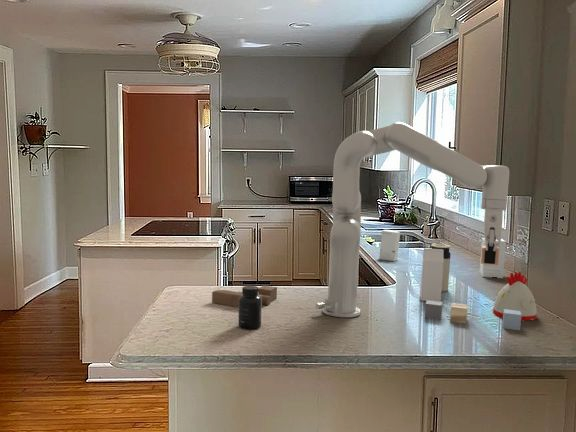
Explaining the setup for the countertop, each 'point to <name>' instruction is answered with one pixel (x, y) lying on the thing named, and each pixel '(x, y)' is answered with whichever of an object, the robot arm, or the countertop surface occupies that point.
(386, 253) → the skincare box
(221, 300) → the wooden block set
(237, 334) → the countertop surface
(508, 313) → the slate block
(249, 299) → the supplement bottle
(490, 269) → the supplement box
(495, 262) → the terracotta block
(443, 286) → the travel mug
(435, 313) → the charcoal block
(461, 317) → the maple block
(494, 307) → the kitchen timer
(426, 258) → the milk carton
